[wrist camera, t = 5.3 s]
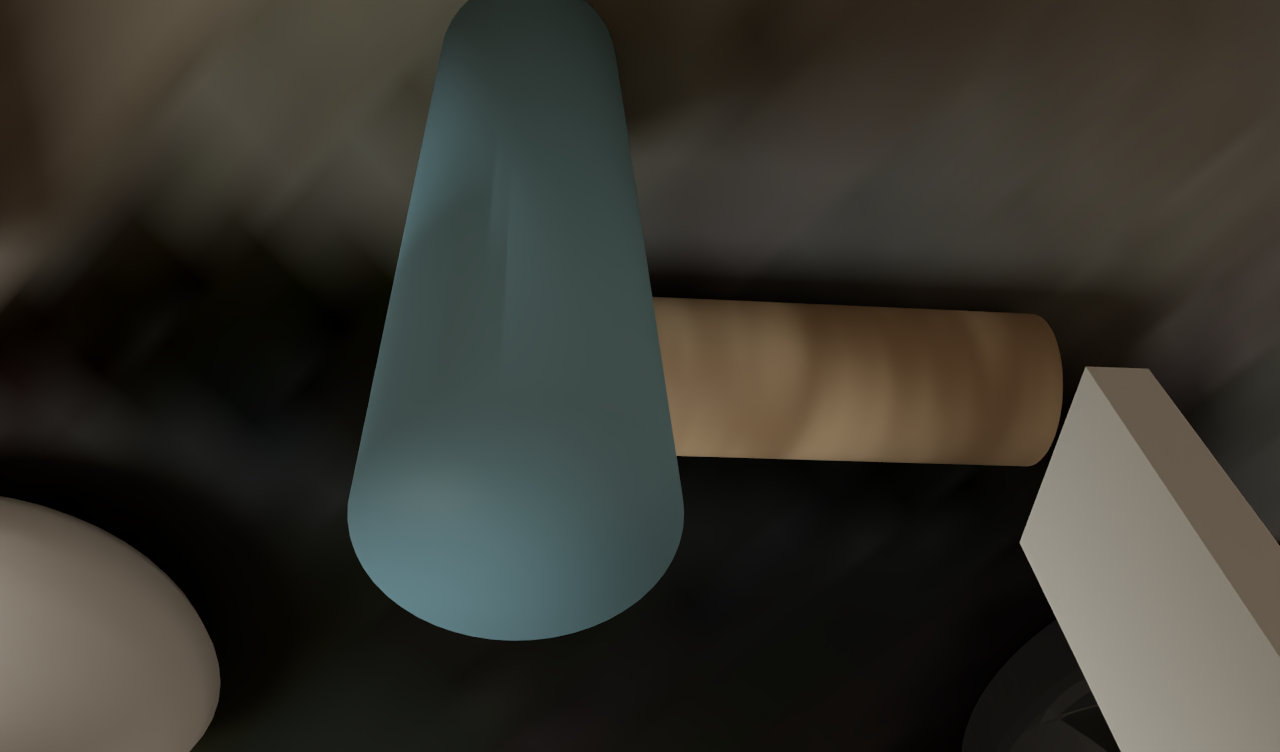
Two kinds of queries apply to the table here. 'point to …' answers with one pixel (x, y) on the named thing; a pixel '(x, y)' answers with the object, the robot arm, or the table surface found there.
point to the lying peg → (858, 382)
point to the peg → (520, 348)
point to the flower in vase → (95, 643)
